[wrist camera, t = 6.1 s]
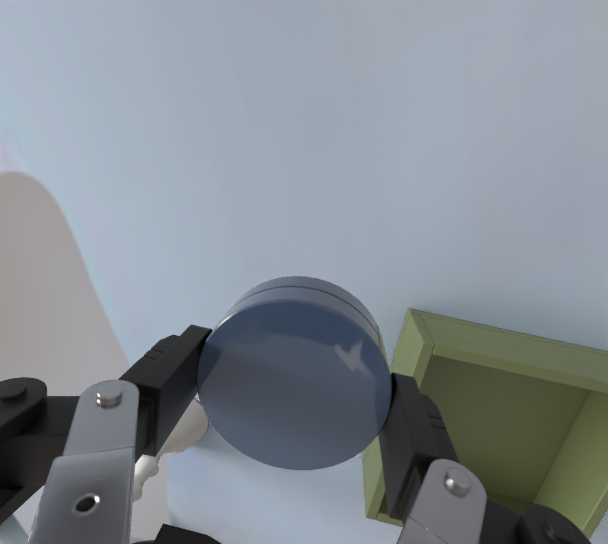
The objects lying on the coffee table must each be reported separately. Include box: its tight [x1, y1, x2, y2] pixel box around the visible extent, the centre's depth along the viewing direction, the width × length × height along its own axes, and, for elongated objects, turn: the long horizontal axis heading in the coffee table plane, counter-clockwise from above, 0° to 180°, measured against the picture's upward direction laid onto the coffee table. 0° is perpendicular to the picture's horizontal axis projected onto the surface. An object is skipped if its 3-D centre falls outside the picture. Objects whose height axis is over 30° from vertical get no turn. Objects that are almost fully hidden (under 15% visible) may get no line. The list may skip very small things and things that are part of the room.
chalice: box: [132, 399, 208, 503], centre depth 20 cm, size 7×7×18 cm
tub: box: [362, 309, 608, 540], centre depth 23 cm, size 13×13×5 cm
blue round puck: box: [196, 276, 392, 470], centre depth 12 cm, size 6×6×2 cm
